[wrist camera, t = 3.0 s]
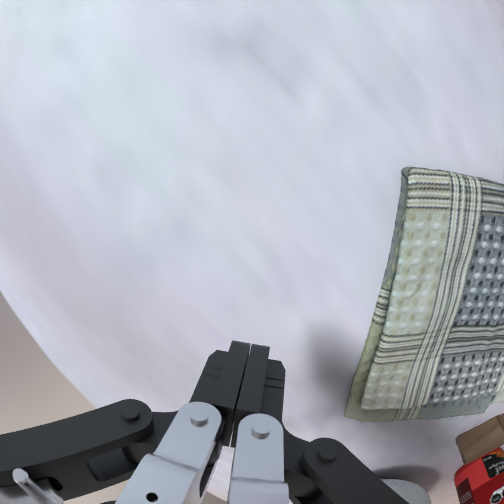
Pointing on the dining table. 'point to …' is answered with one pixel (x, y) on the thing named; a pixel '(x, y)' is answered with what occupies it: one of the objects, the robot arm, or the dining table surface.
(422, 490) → the cereal bowl
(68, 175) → the dining table surface
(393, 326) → the dish towel
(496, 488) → the canned food
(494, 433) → the towel holder
